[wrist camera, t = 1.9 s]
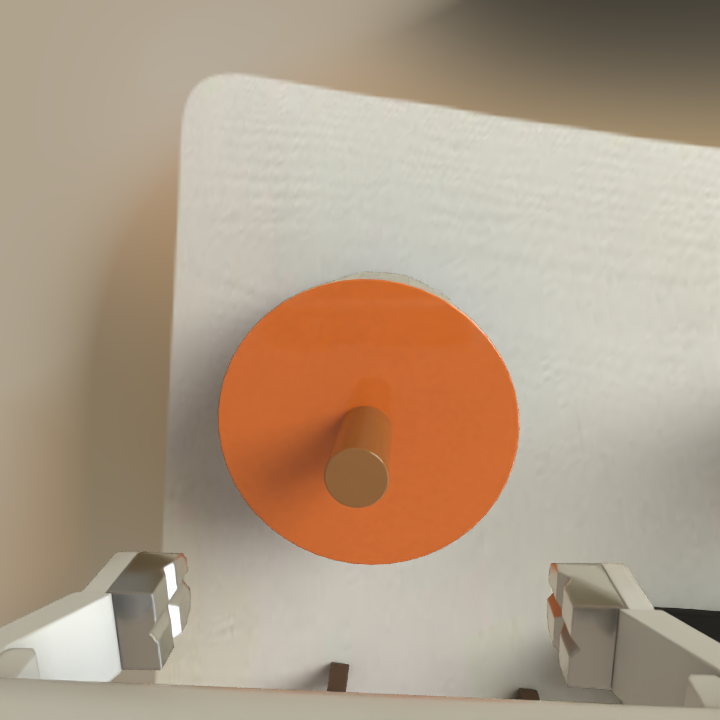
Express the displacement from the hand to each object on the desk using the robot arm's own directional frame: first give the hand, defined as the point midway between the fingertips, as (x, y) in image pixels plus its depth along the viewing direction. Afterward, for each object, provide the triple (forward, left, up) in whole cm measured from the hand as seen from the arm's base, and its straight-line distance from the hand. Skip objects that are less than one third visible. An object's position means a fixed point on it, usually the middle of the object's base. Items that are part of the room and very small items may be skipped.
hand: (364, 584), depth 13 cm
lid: (-1, -1, -14) cm, 14 cm away
